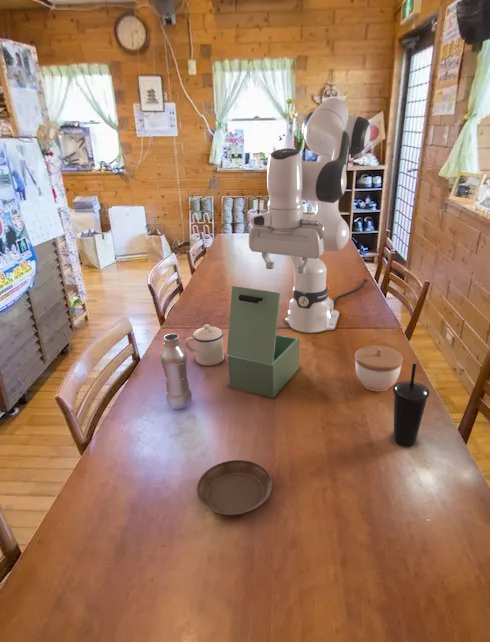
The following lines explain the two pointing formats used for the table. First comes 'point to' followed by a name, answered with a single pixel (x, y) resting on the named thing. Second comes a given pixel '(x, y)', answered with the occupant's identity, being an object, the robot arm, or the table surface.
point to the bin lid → (253, 324)
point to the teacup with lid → (207, 345)
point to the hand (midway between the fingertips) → (285, 270)
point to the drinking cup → (408, 409)
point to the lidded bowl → (378, 367)
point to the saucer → (234, 487)
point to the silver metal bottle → (175, 373)
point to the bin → (266, 369)
